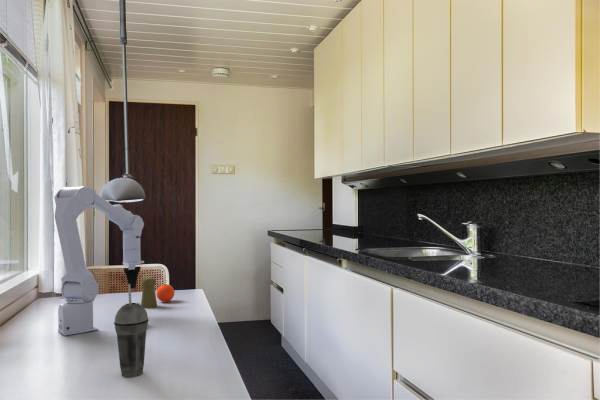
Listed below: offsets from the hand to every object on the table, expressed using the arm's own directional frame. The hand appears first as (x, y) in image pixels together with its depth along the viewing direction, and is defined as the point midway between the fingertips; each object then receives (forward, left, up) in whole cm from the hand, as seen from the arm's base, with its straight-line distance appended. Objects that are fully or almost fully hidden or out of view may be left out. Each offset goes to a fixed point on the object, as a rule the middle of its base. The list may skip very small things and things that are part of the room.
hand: (132, 288), depth 165 cm
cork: (+10, +10, -10) cm, 17 cm away
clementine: (+19, +15, -10) cm, 26 cm away
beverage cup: (-23, -60, -10) cm, 65 cm away
